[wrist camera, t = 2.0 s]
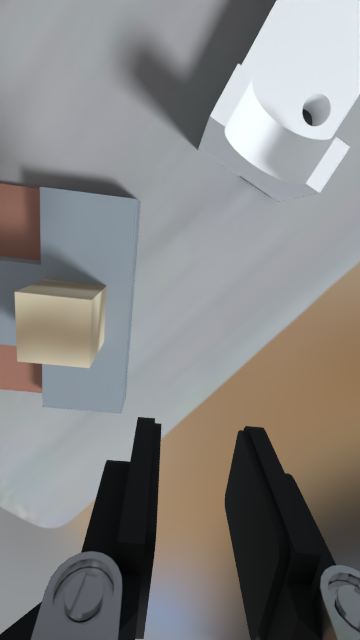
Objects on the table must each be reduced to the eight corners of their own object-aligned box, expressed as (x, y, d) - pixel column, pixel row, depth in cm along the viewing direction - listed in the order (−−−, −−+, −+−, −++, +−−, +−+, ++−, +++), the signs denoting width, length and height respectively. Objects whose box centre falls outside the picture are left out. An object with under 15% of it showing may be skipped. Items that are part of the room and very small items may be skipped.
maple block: (44, 279, 22) (14, 291, 18) (106, 286, 23) (91, 300, 18) (44, 336, 24) (17, 361, 19) (103, 342, 24) (89, 368, 20)
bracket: (274, 203, 24) (319, 193, 17) (197, 150, 23) (209, 116, 16) (385, 27, 21) (499, -78, 14) (303, -44, 20) (380, -201, 12)
